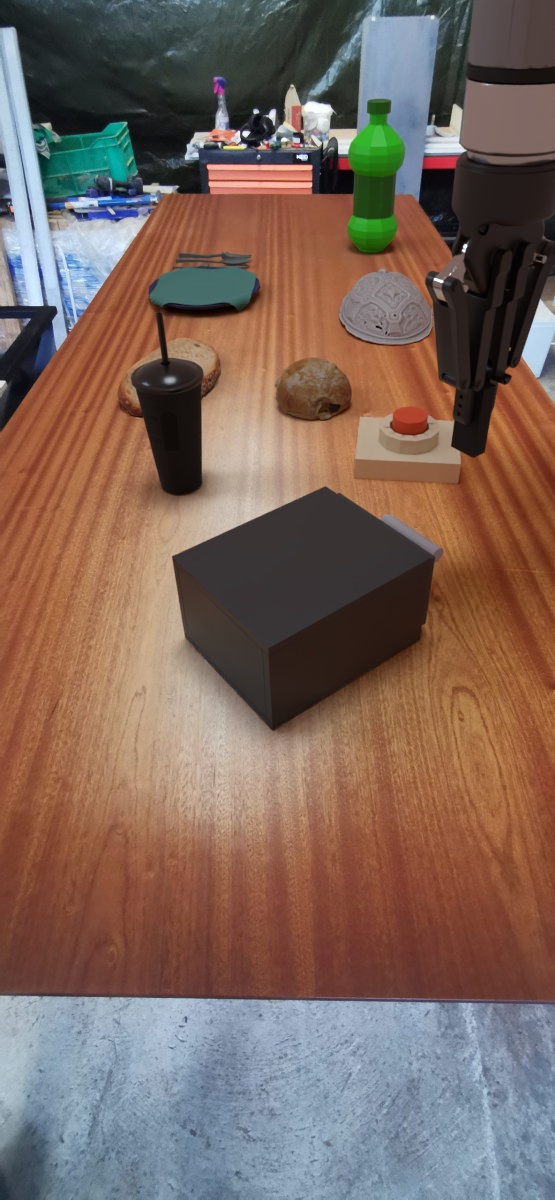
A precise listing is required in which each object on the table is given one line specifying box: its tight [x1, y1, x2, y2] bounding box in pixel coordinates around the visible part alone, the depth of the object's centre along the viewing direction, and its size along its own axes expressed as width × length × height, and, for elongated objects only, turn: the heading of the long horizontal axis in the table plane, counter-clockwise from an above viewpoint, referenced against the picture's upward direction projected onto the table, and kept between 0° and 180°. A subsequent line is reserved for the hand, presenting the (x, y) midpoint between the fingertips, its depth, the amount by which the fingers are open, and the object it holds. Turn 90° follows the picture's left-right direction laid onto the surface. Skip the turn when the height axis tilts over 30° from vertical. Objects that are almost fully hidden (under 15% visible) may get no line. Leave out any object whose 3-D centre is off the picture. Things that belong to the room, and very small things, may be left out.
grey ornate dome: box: [338, 267, 434, 346], centre depth 121 cm, size 16×25×7 cm, turn 178°
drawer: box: [336, 492, 445, 626], centre depth 66 cm, size 20×12×8 cm, turn 127°
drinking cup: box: [131, 311, 204, 496], centre depth 80 cm, size 8×8×20 cm
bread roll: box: [274, 357, 353, 421], centre depth 99 cm, size 10×10×8 cm
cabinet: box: [171, 486, 432, 731], centre depth 64 cm, size 17×14×10 cm
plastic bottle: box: [347, 98, 406, 254], centre depth 140 cm, size 10×10×25 cm
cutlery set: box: [147, 251, 261, 312], centre depth 135 cm, size 20×30×2 cm, turn 176°
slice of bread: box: [116, 337, 222, 417], centre depth 105 cm, size 18×18×4 cm
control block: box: [353, 413, 462, 484], centre depth 88 cm, size 12×10×4 cm
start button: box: [392, 406, 429, 436], centre depth 86 cm, size 4×4×2 cm
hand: (467, 449), depth 67 cm, fingers closed
